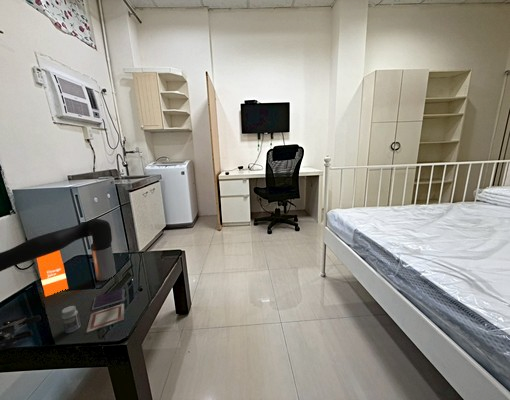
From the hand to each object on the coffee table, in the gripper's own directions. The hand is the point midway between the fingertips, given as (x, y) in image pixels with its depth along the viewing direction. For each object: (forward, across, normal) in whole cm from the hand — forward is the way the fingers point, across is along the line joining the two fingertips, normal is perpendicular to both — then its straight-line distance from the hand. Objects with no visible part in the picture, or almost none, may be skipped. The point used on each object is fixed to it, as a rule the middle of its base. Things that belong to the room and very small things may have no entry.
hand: (36, 324), depth 78 cm
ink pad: (+20, +14, +6) cm, 25 cm away
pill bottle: (+9, 0, +6) cm, 11 cm away
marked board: (+20, 0, +6) cm, 21 cm away
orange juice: (-4, +40, +6) cm, 41 cm away
